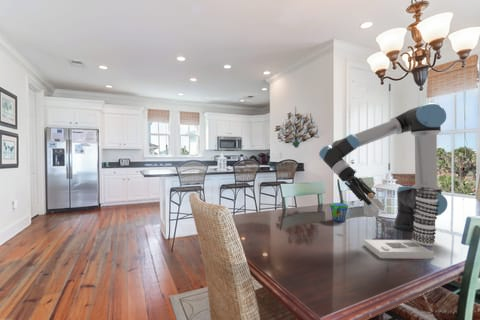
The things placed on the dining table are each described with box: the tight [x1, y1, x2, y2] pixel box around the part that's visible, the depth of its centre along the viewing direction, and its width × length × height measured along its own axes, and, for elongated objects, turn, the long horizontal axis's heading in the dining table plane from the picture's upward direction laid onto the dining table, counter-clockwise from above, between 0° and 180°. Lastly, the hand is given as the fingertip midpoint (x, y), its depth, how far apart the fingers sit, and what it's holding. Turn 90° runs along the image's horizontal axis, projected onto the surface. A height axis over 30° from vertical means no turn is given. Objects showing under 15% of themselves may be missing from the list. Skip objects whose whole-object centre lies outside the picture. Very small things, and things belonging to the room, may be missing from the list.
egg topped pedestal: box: [363, 193, 380, 218], centre depth 111 cm, size 4×4×10 cm
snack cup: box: [329, 202, 349, 223], centre depth 151 cm, size 16×10×10 cm
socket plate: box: [363, 239, 435, 260], centre depth 101 cm, size 20×14×3 cm
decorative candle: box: [411, 187, 440, 247], centre depth 110 cm, size 9×9×25 cm
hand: (379, 209), depth 108 cm, fingers closed on egg topped pedestal, 6 cm apart
